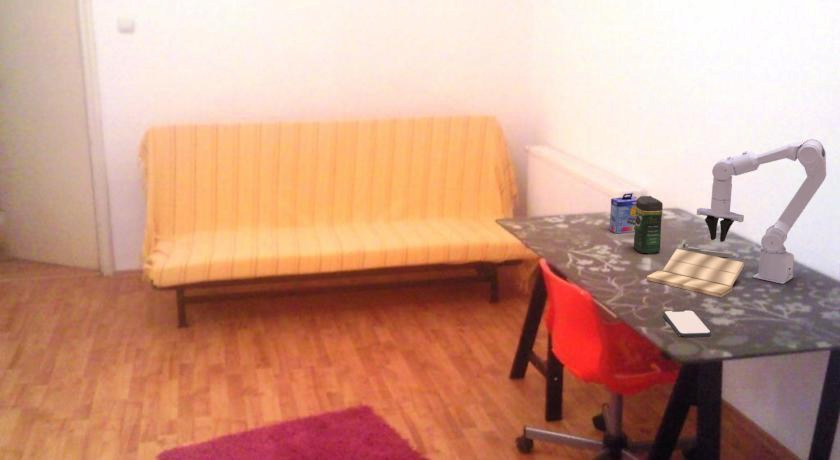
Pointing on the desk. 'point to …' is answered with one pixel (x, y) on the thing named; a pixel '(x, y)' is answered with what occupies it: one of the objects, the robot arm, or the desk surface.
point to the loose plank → (704, 267)
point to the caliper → (707, 252)
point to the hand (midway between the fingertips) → (717, 240)
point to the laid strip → (690, 283)
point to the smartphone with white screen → (686, 323)
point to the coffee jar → (648, 224)
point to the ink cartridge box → (623, 214)
